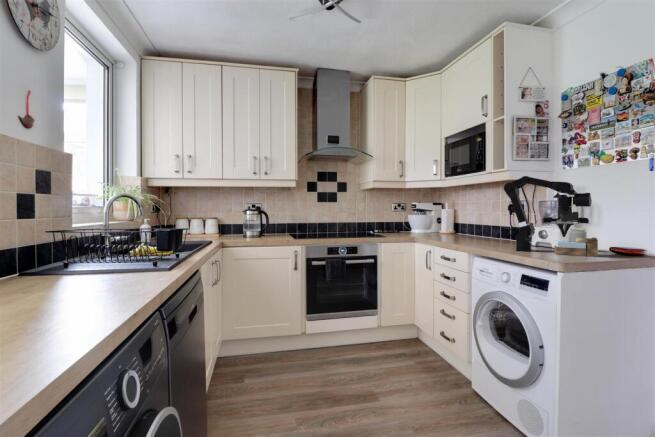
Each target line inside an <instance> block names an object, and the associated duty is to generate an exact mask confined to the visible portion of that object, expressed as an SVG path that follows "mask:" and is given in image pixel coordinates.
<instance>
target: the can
mask: <svg viewBox="0 0 655 437" xmlns="http://www.w3.org/2000/svg"><path fill="white" fill-rule="evenodd" d="M585 230H586V229H578V228H577V229H575V228H574V229H573V228H572V229H570V230H569V233H568V241H571V242H576V238H587V231H585ZM583 243H584V242H583Z"/></svg>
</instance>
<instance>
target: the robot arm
mask: <svg viewBox="0 0 655 437" xmlns="http://www.w3.org/2000/svg"><path fill="white" fill-rule="evenodd" d="M526 185H533V186H538V187H543V188H547V189H550V190H553V191H556V192H557V193H556V194H555V195H554V196H553V198H554V199H557V218H556V217H555V218H553V217H551V216H542V217H541V223H543V224H544V223H547V224H548V223H549V224H551V223H552V222H553V223H554V225H556V226H557V227H558V229H559V231H560V233H561V237H563V238H565V237H566V235H567V234H568V231H569V229H570V227H571V226H574V225H575V223H577V224H590V220H589V218H588V217H579V215H580V214H579V211H573V205H575V207H580V208H582V207H583V208H585V207H586V208H589V207H590V208H591V207H592V203H593V202H592V201H593V200H592V195H591V192H584V193H582V192H580V193H578V192H577V191H576V190H575V189H574V185H573V183H571V182H567V181H554V180H553V181H550V180H546V179H540V178H538V177H537V178H536V177H532V176H528V175H523V176H521V177H520V178H518V179H516V180H513V181H511V182H510V181H509V182H507V183H505V184H504V185H503V190H504V193H505V194H506V195H507V197H509V200H510V201H511V205H512V207H513V210H514V212H515V215H516V219H517V221H518V232H517V233H516V234H515V235H514V239H515V251H517V252H530V251H531V250H532V247H531V246H532V243H531V242H530V240H531V237H533V236H534V235H535V233H536V232H535V230H536V228H535V226H534V223H533V222H529V220H528V218H527V214H526V212H525V210H524V207H523V203H522V201H521V198H520V189H521V188H524V187H525V186H526ZM568 195H569V196H568Z"/></svg>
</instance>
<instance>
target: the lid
mask: <svg viewBox="0 0 655 437" xmlns="http://www.w3.org/2000/svg"><path fill="white" fill-rule="evenodd" d="M554 246H557V247H566V248H586V243H583V242H571V241H569V240H568V241H567V240H565V241H564V240H555V245H554Z"/></svg>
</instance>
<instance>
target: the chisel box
mask: <svg viewBox="0 0 655 437" xmlns="http://www.w3.org/2000/svg"><path fill="white" fill-rule="evenodd" d="M598 241H599V240H598V239H587V243H586V248H566V247H557V246H555V245H554V255H556V256H557V255H559V256H571V257H593V258H597V257H598V256H599V255H598V254H599V253H598V251H599V247H598V246H599V242H598ZM584 243H585V242H584Z"/></svg>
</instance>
